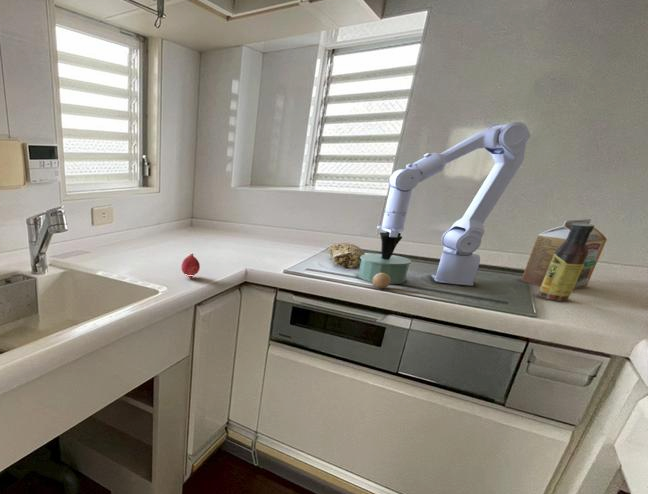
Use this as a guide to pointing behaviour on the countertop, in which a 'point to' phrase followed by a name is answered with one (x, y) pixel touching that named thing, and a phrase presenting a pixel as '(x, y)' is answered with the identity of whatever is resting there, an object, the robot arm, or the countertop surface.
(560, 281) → the sauce bottle
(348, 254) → the tan brown irregular lump
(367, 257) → the bin lid
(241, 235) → the countertop surface
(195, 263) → the onion
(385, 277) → the orange brown ball
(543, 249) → the milk carton
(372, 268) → the green faceted bin
